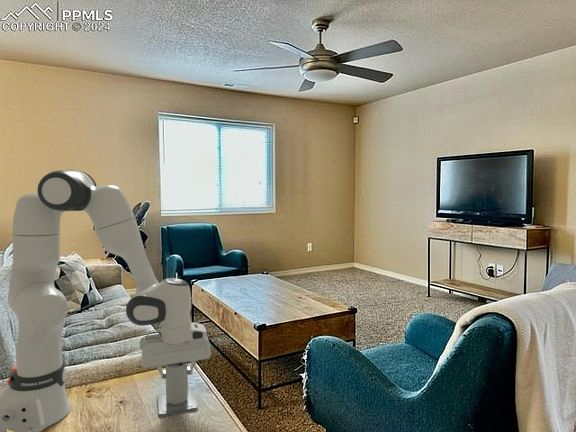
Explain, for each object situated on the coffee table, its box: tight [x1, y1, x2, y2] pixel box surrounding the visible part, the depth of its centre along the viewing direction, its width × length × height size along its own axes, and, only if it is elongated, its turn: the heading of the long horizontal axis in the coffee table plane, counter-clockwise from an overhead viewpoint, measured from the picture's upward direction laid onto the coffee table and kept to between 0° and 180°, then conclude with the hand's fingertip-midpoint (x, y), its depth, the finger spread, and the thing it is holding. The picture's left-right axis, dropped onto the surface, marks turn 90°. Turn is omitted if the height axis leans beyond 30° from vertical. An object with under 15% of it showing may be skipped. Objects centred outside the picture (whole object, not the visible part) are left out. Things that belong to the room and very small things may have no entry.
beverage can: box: [165, 362, 189, 405], centre depth 120 cm, size 6×6×12 cm
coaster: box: [157, 387, 198, 418], centre depth 120 cm, size 11×11×1 cm
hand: (176, 375), depth 119 cm, fingers closed on beverage can, 6 cm apart
